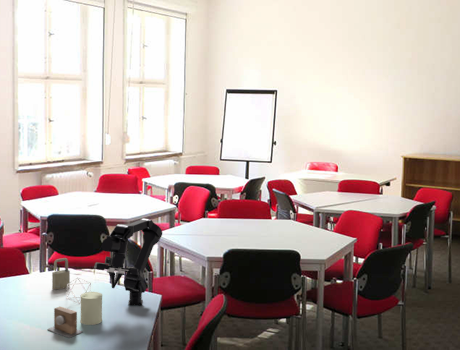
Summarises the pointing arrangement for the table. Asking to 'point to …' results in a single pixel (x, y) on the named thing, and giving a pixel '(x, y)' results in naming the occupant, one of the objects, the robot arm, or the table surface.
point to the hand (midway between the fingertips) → (112, 288)
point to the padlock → (60, 276)
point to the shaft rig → (65, 322)
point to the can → (91, 308)
